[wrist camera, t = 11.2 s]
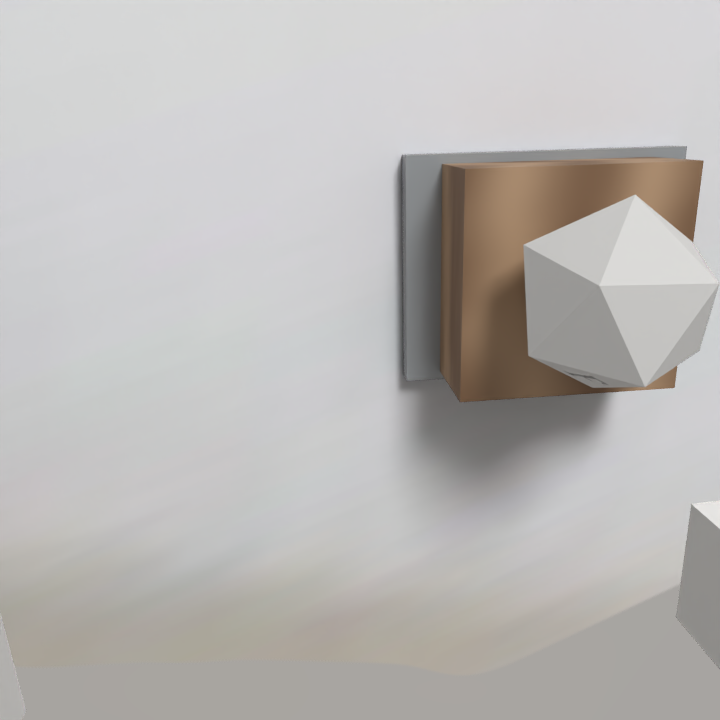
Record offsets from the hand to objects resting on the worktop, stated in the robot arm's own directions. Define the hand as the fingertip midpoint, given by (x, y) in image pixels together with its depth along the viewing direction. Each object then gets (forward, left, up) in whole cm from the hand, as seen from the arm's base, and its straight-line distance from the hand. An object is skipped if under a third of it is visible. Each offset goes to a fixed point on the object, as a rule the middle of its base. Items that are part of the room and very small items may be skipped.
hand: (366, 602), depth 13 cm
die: (+14, +1, -23) cm, 26 cm away
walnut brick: (+14, +1, -28) cm, 31 cm away
